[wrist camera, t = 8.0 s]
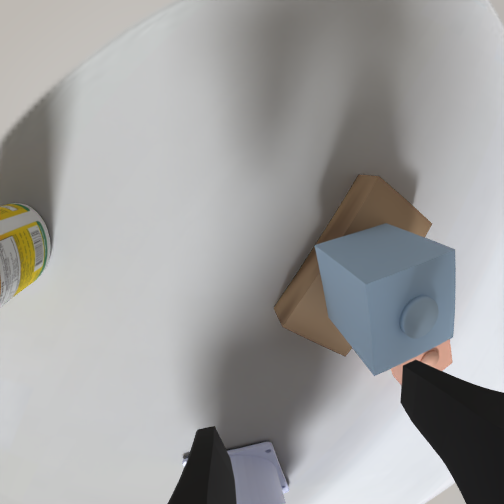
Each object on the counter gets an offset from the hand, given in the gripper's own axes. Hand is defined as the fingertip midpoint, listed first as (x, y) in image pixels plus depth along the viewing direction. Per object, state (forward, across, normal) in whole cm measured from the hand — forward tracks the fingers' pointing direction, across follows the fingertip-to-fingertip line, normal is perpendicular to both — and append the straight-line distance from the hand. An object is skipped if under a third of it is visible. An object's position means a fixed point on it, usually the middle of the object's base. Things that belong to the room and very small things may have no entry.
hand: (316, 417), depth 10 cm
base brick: (+11, -6, -1) cm, 12 cm away
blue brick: (+8, -5, -2) cm, 10 cm away
